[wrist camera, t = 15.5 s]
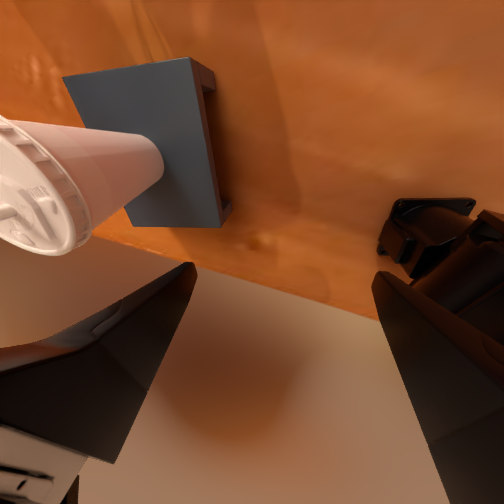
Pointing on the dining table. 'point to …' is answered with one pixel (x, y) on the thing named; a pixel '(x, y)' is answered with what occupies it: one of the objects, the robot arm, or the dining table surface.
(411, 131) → the dining table surface
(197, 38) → the dining table surface
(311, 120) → the dining table surface
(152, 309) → the robot arm
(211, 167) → the grey footed stand
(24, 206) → the smoothie
